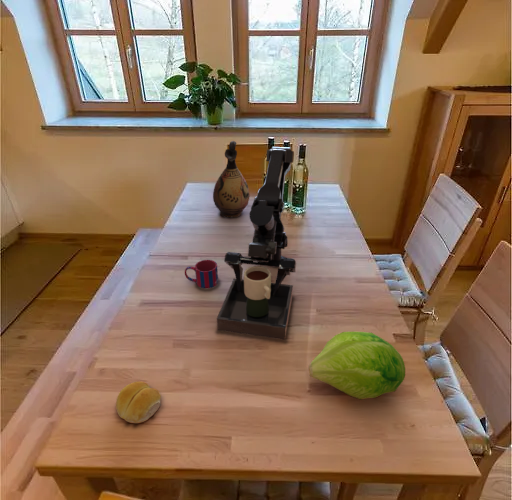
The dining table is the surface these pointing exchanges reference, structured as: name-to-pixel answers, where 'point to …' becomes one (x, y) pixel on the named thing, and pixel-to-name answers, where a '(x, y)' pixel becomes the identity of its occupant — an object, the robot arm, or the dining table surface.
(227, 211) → the ceramic jug
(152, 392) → the bread roll
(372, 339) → the lettuce
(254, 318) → the tray
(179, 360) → the dining table surface
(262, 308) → the coffee mug
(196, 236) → the dining table surface
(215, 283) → the cup
